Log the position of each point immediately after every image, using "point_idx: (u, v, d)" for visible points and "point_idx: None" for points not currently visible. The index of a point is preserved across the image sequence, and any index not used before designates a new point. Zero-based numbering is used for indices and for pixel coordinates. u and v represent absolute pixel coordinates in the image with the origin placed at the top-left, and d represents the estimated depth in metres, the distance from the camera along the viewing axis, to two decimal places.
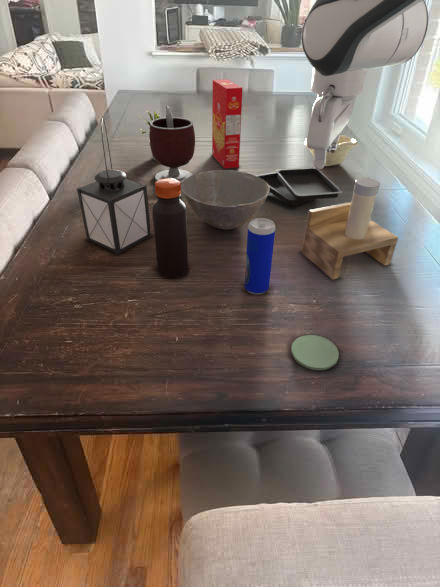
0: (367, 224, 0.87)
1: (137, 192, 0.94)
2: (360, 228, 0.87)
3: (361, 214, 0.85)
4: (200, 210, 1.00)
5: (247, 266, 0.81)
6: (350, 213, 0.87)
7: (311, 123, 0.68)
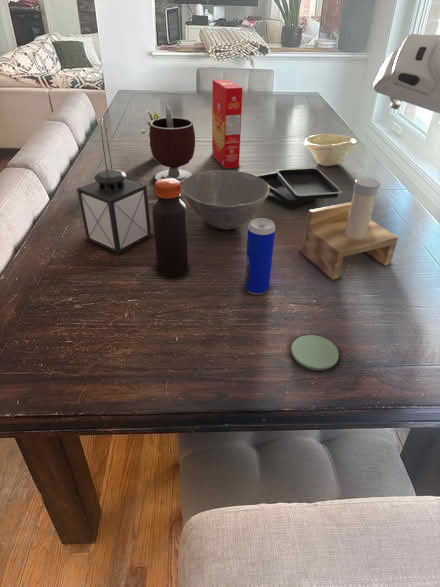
0: (367, 224, 0.87)
1: (137, 192, 0.94)
2: (360, 228, 0.87)
3: (361, 214, 0.85)
4: (200, 210, 1.00)
5: (247, 266, 0.81)
6: (350, 213, 0.87)
7: None
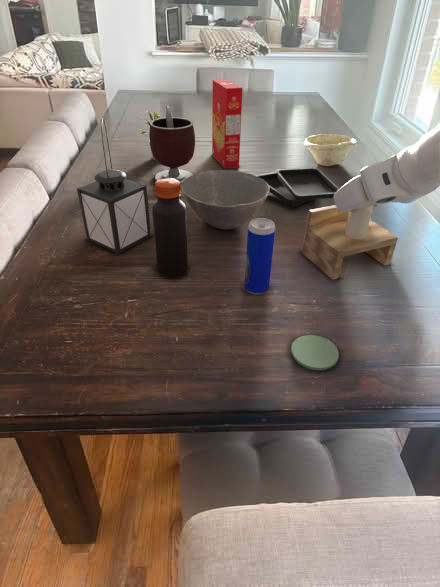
0: (367, 224, 0.87)
1: (137, 192, 0.94)
2: (360, 228, 0.87)
3: (361, 214, 0.85)
4: (200, 210, 1.00)
5: (247, 266, 0.81)
6: (350, 213, 0.87)
7: None
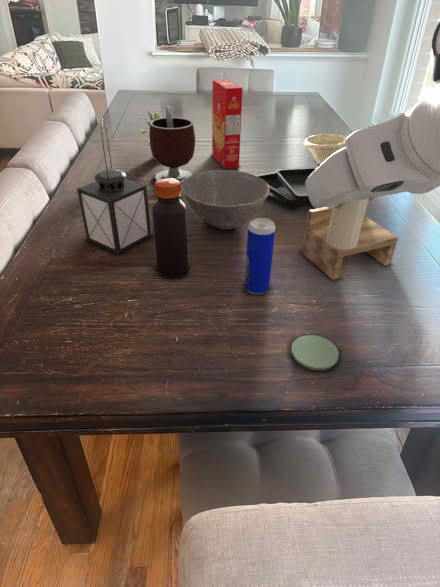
0: (359, 227, 0.59)
1: (137, 192, 0.94)
2: (348, 232, 0.59)
3: (350, 212, 0.57)
4: (200, 210, 1.00)
5: (247, 266, 0.81)
6: (334, 210, 0.59)
7: None
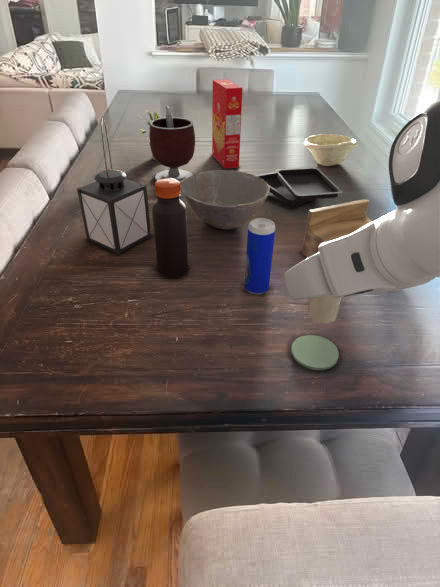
0: (337, 304, 0.62)
1: (137, 192, 0.94)
2: (327, 309, 0.62)
3: None
4: (200, 210, 1.00)
5: (247, 266, 0.81)
6: None
7: None
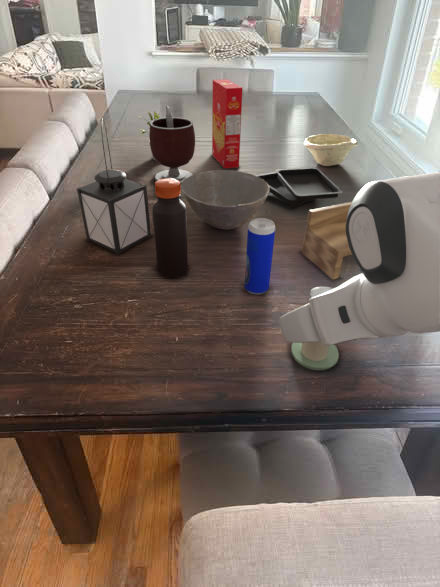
0: None
1: (137, 192, 0.94)
2: (318, 348, 0.67)
3: None
4: (200, 210, 1.00)
5: (247, 266, 0.81)
6: None
7: None
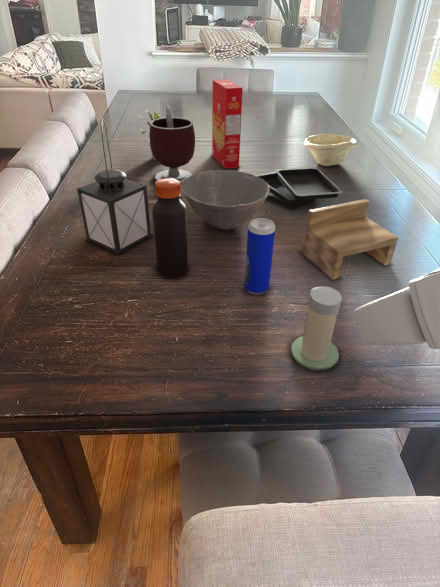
0: (328, 343, 0.67)
1: (137, 192, 0.94)
2: (318, 348, 0.67)
3: (319, 334, 0.65)
4: (200, 210, 1.00)
5: (247, 266, 0.81)
6: (306, 329, 0.67)
7: None
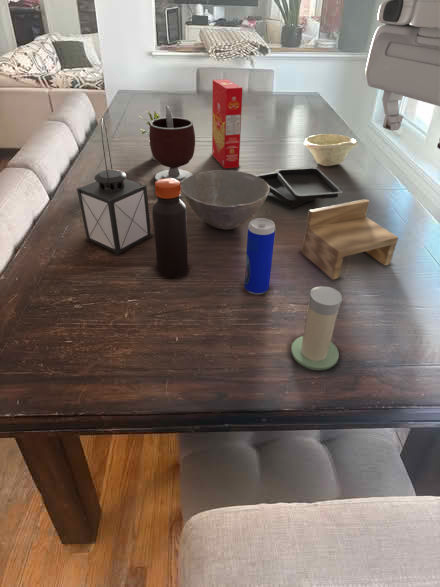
0: (328, 343, 0.67)
1: (137, 192, 0.94)
2: (318, 348, 0.67)
3: (319, 334, 0.65)
4: (200, 210, 1.00)
5: (247, 266, 0.81)
6: (306, 329, 0.67)
7: None
